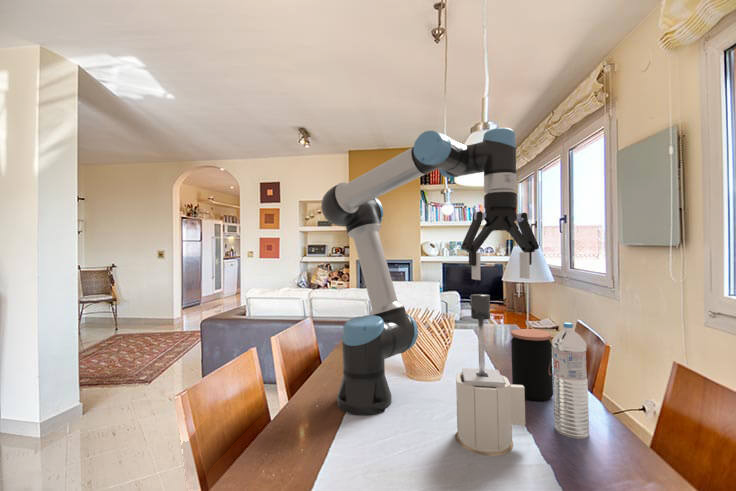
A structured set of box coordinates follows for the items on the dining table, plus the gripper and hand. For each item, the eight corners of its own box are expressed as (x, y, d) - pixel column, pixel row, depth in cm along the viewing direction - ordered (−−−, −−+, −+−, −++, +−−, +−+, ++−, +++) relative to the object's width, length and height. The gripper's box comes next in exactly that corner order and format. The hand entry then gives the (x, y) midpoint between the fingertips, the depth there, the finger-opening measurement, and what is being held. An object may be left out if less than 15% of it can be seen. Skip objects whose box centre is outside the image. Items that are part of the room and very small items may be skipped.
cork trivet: (457, 455, 70) (457, 452, 70) (454, 426, 82) (454, 423, 82) (519, 461, 68) (519, 458, 68) (507, 430, 80) (507, 427, 80)
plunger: (464, 401, 72) (461, 297, 73) (461, 386, 80) (459, 293, 81) (506, 404, 70) (503, 297, 71) (499, 388, 79) (496, 293, 79)
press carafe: (459, 450, 71) (457, 382, 71) (456, 424, 82) (455, 365, 82) (532, 457, 68) (530, 386, 68) (519, 429, 79) (517, 368, 79)
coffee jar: (558, 404, 93) (556, 337, 93) (516, 401, 95) (515, 336, 95) (546, 389, 103) (544, 329, 104) (509, 387, 105) (507, 328, 106)
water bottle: (557, 423, 83) (554, 319, 83) (591, 432, 78) (587, 322, 79) (551, 435, 77) (548, 324, 78) (587, 445, 73) (583, 327, 74)
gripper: (461, 188, 78) (462, 281, 78) (554, 192, 84) (555, 278, 84) (446, 193, 85) (447, 278, 85) (532, 197, 91) (533, 276, 91)
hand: (500, 279), depth 84 cm, fingers open, 13 cm apart
